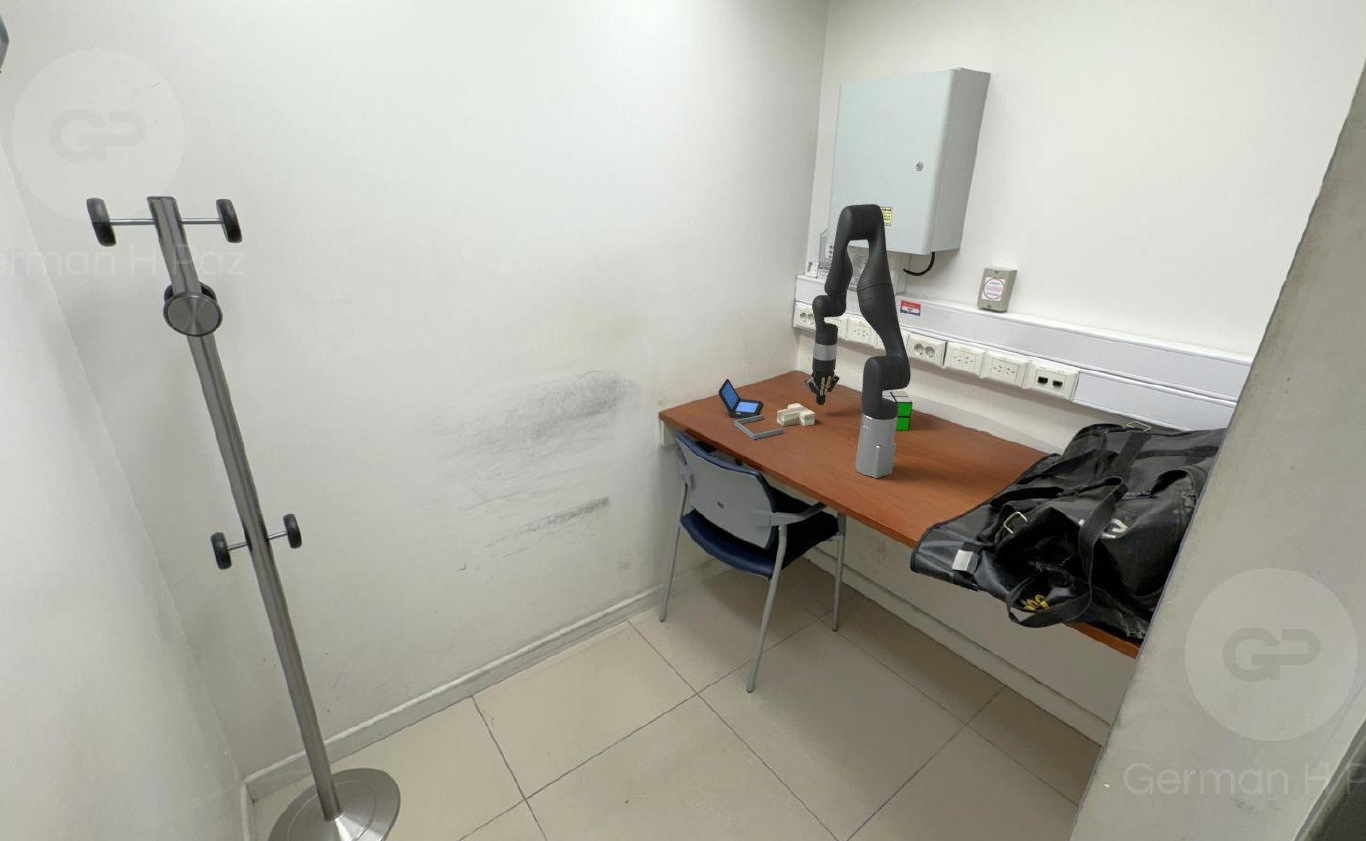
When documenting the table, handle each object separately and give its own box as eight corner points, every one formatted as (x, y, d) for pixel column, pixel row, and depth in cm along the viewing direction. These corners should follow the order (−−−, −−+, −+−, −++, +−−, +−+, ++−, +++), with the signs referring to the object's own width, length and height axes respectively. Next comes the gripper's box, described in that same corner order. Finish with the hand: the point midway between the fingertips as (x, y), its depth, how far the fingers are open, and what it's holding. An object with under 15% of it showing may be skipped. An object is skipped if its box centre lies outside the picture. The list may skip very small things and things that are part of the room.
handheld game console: (755, 421, 197) (756, 395, 193) (717, 417, 201) (717, 392, 197) (762, 404, 211) (763, 380, 207) (726, 400, 214) (727, 377, 211)
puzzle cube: (901, 418, 196) (905, 390, 192) (908, 431, 187) (913, 402, 183) (870, 418, 197) (874, 390, 193) (876, 430, 188) (880, 401, 184)
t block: (814, 424, 193) (815, 413, 192) (788, 429, 189) (789, 418, 188) (796, 413, 202) (797, 403, 200) (772, 418, 198) (772, 407, 196)
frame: (783, 433, 187) (783, 428, 187) (753, 439, 183) (753, 435, 183) (762, 418, 198) (762, 414, 197) (733, 424, 194) (734, 420, 193)
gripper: (814, 362, 185) (810, 411, 193) (848, 356, 190) (843, 404, 198) (801, 355, 192) (797, 403, 199) (833, 349, 197) (829, 397, 204)
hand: (820, 404), depth 198 cm, fingers closed
